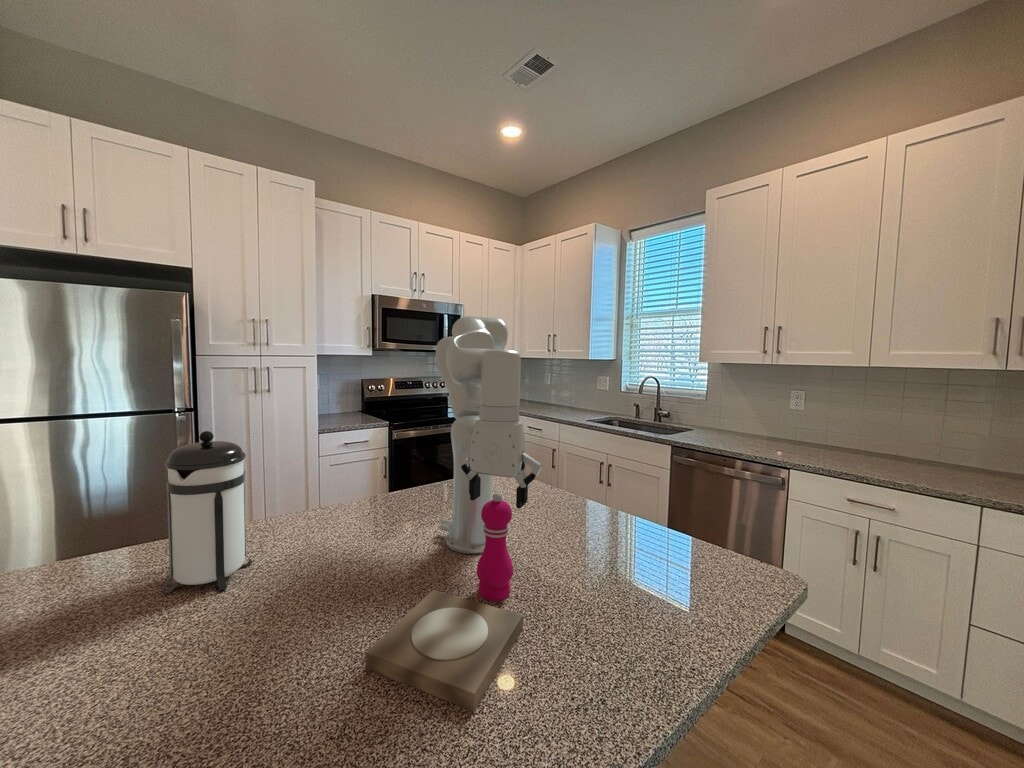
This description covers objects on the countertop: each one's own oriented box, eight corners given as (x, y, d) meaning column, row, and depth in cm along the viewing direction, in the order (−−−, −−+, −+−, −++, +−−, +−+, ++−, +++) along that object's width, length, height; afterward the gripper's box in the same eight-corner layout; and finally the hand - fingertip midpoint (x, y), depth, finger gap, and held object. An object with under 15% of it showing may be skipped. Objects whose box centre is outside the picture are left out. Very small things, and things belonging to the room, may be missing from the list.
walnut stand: (365, 668, 61) (365, 650, 61) (433, 602, 78) (433, 588, 78) (474, 711, 55) (474, 691, 54) (522, 629, 71) (523, 613, 71)
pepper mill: (517, 586, 84) (520, 490, 83) (505, 606, 77) (508, 501, 76) (484, 578, 87) (487, 485, 85) (469, 597, 80) (472, 496, 78)
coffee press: (269, 576, 85) (267, 431, 83) (168, 610, 73) (163, 442, 71) (244, 547, 97) (242, 420, 94) (154, 572, 85) (149, 428, 83)
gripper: (450, 413, 79) (448, 501, 80) (536, 420, 72) (533, 516, 73) (468, 409, 86) (467, 490, 87) (548, 415, 79) (546, 503, 80)
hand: (497, 502), depth 80 cm, fingers open, 9 cm apart
